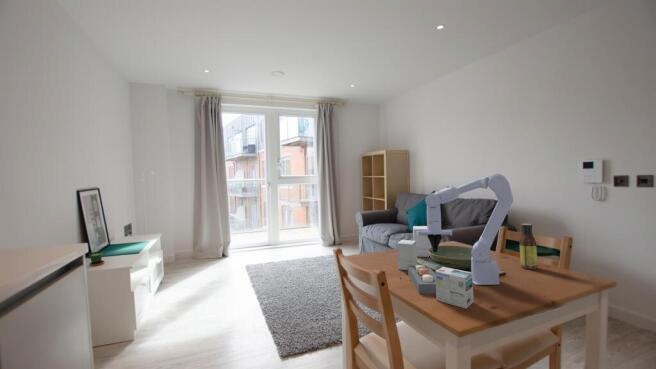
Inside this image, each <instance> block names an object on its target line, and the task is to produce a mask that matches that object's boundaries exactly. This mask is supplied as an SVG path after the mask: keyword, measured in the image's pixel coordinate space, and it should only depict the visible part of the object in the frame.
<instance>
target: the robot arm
mask: <svg viewBox="0 0 656 369" xmlns="http://www.w3.org/2000/svg"><path fill="white" fill-rule="evenodd" d="M488 188H489V189H490V190H491V191H492V192H493V193H494V195H495V196H496V198H497V202H496V204H495V207H494V209H493V211H492V213H491V214H490V217H489V219H488V221H487V223H486V224H485V227H484V229H483V232H482V234H481V235H480V237H479V239H478V240H477V241H476V242H474V244H473V245H472V246H473V247H472V249H471V251H470V255H471V257H470V261H471V262H470V264H471V267H470V268H471V269H470V270H471V271H470V272H472V277H473V285H476V286H483V285H484V286H486V285H490V286H492V285H501V283H500V267H499V263H498V262H497V260H496V259H492V258H491V257H490V252H491V247H492V245H493V243H494V241H495V239H496V236H497V234H498V233H499V230H500V228H501V226H502V224H503V222H504V220H505V218H506V216H507V214H508V212H509V210H510V208H511V206H512V205H513V202H514V197H513V194H512V190H511V186H510V183H509V181H508V179H507V178H506V177H505V175H504V174H503V175H502V174H500V173H495V174H492V175H487V176H483V177H480V178H476V179H474V180H472V181H470V182H467V183H464V184H461V185H459V186H453V185H446V186H445V188H442V189H440V190H435V191H434V192H432V193H429V194H427V195H426V197H425V199H424V200H425V201H424V202H425V204H426V226H427V230H422V231H417V236H427V237H428V239H429V241H430V243H431V246H432V253H438V250H439V245H440V243H441V241H442V240H443V236H448V235H449V236H453V231H452V230H451V229H442V213H441V212H442V211H441V204H443V205H444V204H446V203H448V202H451V201H455V200H457V199H459V196H460V195H461V194H464V193H467V192H470V191H474V190H476V189H485V190H486V189H488Z"/></svg>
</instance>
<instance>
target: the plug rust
mask: <svg viewBox="0 0 656 369" xmlns="http://www.w3.org/2000/svg"><path fill="white" fill-rule="evenodd" d="M426 274H428V275H429V269H427V268H419V276H423V275H426Z"/></svg>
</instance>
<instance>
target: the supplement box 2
mask: <svg viewBox="0 0 656 369" xmlns="http://www.w3.org/2000/svg"><path fill="white" fill-rule="evenodd" d="M422 230H427V225H412V235H413V236H412V237H413V240H412V241H416V246H417V258H418V257H419V258H421V257H422V258H426V257H427V258H430V257H429V253H428V251H429V249H430V248H432V246H431V243H430V241H429V239H428V237H427V236H417V231H422Z"/></svg>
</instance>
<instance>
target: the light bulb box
mask: <svg viewBox="0 0 656 369" xmlns="http://www.w3.org/2000/svg"><path fill="white" fill-rule="evenodd" d="M434 273H435V275H436V293H435V297H436V298H435V300H436V301H439V302H441V303H445V304H449V305H452V306H456V307H458V308H463V309H468V308H469V307H470V306H471V305H473V303H474V283H473V277H472V272H471V271H465V270H460V269H455V268H451V267H447V266H442V267H440V268H439V269H436V270H435V272H434Z"/></svg>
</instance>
